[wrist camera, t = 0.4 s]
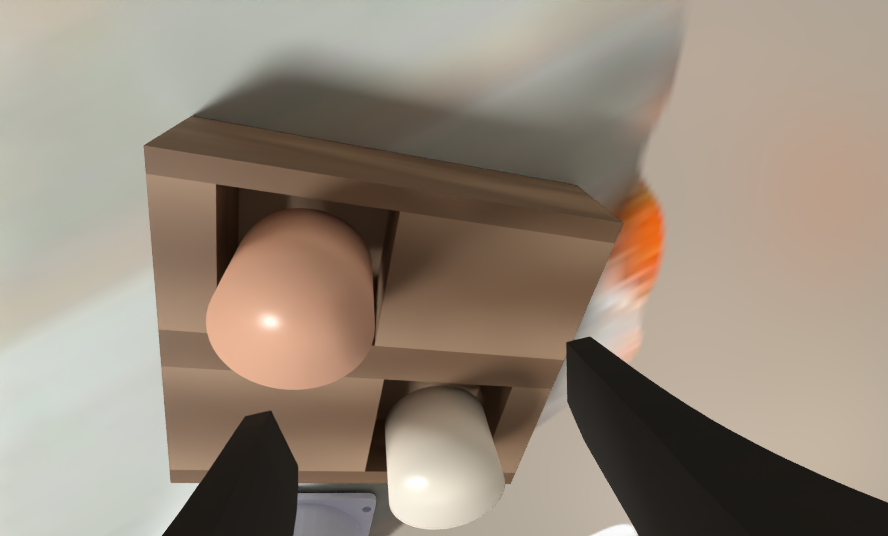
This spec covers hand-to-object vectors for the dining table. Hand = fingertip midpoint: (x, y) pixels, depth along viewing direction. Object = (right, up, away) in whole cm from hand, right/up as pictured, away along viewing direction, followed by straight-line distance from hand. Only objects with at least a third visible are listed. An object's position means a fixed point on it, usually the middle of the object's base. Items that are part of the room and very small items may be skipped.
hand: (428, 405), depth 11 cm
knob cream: (0, -3, +9) cm, 9 cm away
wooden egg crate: (-3, +2, +10) cm, 10 cm away
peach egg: (-4, +3, +4) cm, 7 cm away
